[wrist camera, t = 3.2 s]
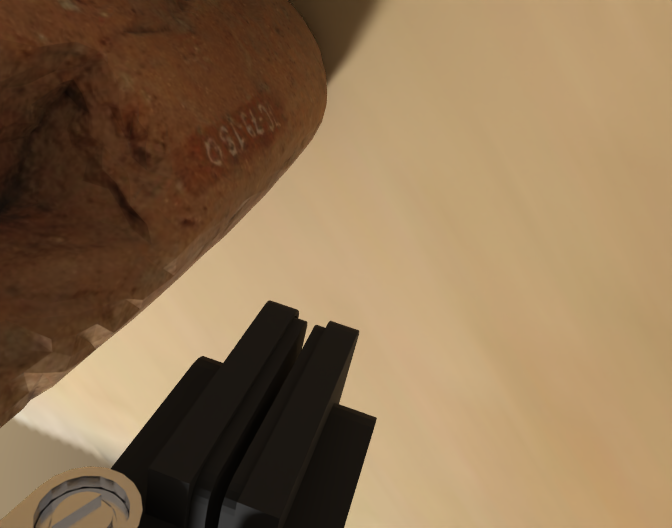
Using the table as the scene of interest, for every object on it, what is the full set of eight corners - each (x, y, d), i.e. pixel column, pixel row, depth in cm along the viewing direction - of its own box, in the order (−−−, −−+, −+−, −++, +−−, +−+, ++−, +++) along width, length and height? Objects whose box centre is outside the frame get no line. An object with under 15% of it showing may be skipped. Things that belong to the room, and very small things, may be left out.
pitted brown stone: (169, 222, 28) (-370, 679, 10) (66, 74, 25) (-840, 344, 8) (372, 112, 23) (12, 596, 6) (268, -80, 21) (-801, -200, 4)
